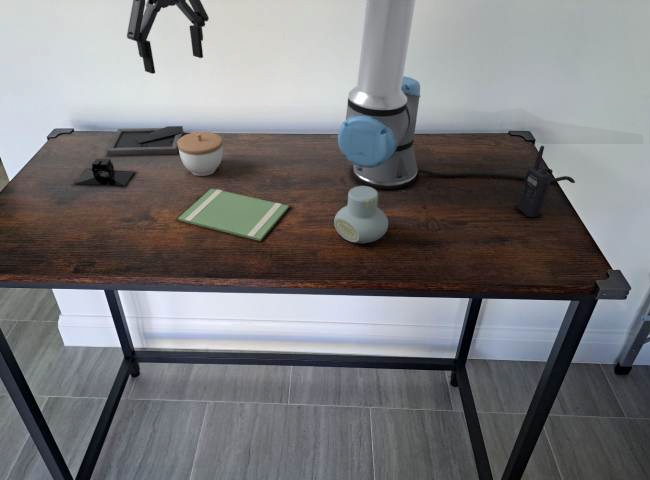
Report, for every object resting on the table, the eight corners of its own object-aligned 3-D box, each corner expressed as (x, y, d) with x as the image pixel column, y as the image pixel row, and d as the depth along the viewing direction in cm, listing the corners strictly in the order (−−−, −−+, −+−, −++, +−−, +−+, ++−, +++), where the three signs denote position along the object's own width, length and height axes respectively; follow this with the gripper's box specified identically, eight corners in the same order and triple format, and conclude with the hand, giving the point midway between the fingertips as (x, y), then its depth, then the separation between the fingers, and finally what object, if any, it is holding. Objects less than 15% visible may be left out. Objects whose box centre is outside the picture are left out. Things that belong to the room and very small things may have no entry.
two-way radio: (513, 207, 122) (531, 143, 113) (530, 203, 123) (549, 139, 114) (530, 220, 118) (550, 155, 109) (547, 215, 119) (568, 151, 110)
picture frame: (183, 132, 156) (119, 134, 156) (182, 126, 154) (117, 127, 154) (176, 154, 145) (108, 155, 145) (175, 147, 144) (106, 148, 144)
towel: (288, 208, 124) (288, 205, 123) (260, 241, 114) (260, 238, 114) (211, 190, 130) (211, 187, 130) (178, 220, 121) (177, 217, 120)
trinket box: (228, 160, 142) (225, 125, 136) (220, 181, 134) (216, 144, 128) (187, 159, 143) (182, 124, 137) (176, 179, 135) (171, 143, 129)
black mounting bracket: (75, 185, 134) (70, 167, 131) (87, 170, 139) (82, 153, 137) (125, 186, 133) (120, 169, 130) (135, 172, 138) (131, 154, 135)
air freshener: (393, 239, 114) (398, 196, 107) (364, 254, 110) (368, 211, 103) (355, 217, 120) (358, 175, 114) (327, 231, 116) (328, 189, 110)
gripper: (195, -55, 120) (206, 47, 134) (94, -38, 106) (118, 75, 120) (218, -52, 116) (227, 53, 130) (116, -33, 102) (138, 83, 116)
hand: (174, 64), depth 125 cm, fingers open, 13 cm apart
